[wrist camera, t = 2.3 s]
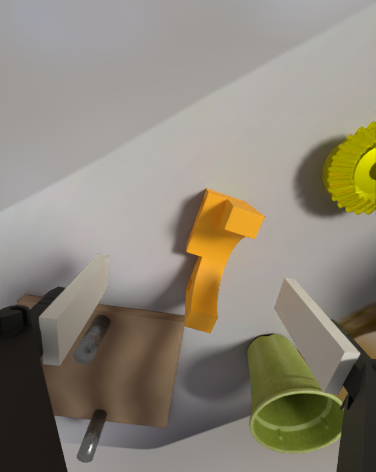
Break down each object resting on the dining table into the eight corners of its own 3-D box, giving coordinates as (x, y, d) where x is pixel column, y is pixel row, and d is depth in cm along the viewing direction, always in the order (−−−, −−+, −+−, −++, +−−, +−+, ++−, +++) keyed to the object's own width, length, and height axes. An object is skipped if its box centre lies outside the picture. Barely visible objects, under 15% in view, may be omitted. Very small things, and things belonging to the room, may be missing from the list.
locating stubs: (110, 316, 26) (92, 350, 21) (107, 419, 32) (92, 463, 28) (94, 314, 26) (72, 347, 21) (93, 417, 32) (76, 461, 28)
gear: (302, 150, 21) (324, 221, 23) (324, 148, 17) (348, 232, 20) (387, 107, 20) (402, 187, 22) (430, 96, 16) (442, 192, 19)
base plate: (185, 315, 27) (184, 322, 26) (167, 419, 34) (166, 427, 33) (24, 294, 27) (17, 300, 26) (38, 404, 33) (32, 413, 32)
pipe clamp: (206, 188, 22) (212, 198, 16) (245, 201, 23) (265, 216, 17) (172, 283, 26) (166, 321, 20) (206, 293, 27) (210, 333, 21)
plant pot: (276, 385, 31) (307, 464, 23) (220, 360, 30) (232, 436, 22) (319, 340, 29) (370, 413, 20) (260, 311, 27) (290, 377, 19)
